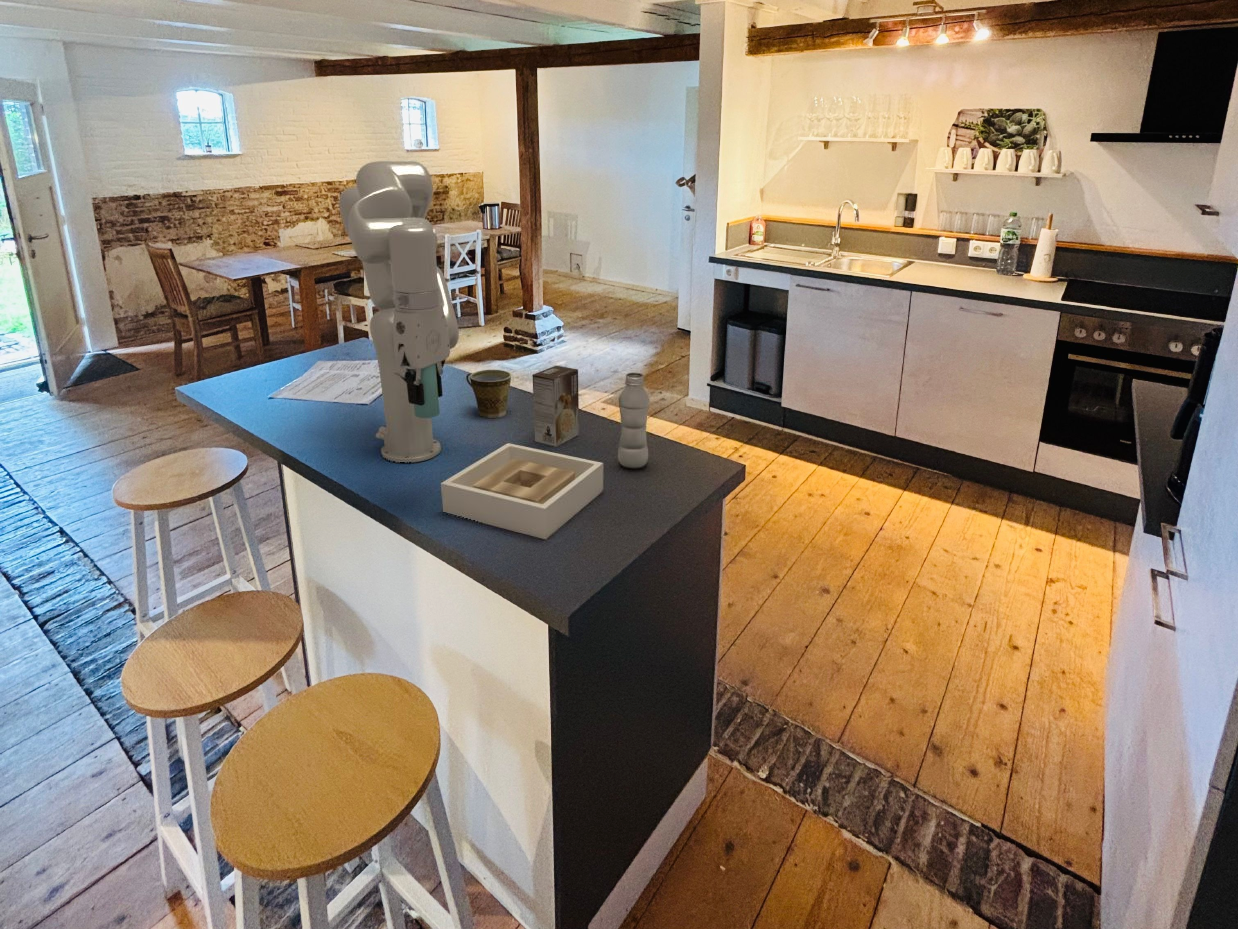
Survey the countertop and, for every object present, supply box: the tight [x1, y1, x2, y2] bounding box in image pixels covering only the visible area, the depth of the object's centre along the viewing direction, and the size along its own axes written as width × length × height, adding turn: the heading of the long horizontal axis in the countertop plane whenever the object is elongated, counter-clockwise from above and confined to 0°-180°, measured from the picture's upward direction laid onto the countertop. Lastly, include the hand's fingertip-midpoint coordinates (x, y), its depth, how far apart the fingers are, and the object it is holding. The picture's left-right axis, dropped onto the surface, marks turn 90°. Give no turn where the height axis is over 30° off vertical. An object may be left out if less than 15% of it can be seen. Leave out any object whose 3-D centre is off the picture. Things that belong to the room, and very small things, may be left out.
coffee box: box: [531, 365, 580, 448], centre depth 173 cm, size 9×6×16 cm
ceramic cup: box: [465, 369, 512, 419], centre depth 189 cm, size 13×10×10 cm
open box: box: [440, 443, 604, 540], centre depth 145 cm, size 22×22×6 cm
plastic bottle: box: [617, 372, 651, 469], centre depth 158 cm, size 6×7×20 cm
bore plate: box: [472, 459, 575, 504], centre depth 145 cm, size 14×14×4 cm
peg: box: [411, 364, 440, 419], centre depth 137 cm, size 4×4×12 cm
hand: (425, 398), depth 139 cm, fingers closed on peg, 4 cm apart
